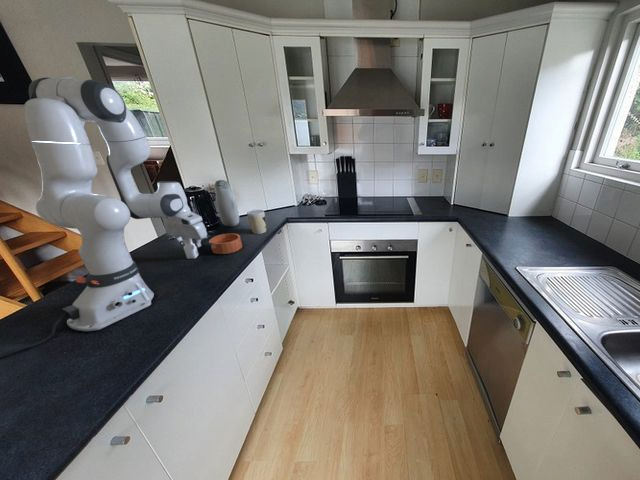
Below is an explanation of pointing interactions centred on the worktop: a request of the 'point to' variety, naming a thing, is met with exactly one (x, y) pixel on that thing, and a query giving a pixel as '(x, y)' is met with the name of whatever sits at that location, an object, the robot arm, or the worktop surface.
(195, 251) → the pepper shaker
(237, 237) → the bowl
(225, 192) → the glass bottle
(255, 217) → the coffee cup
